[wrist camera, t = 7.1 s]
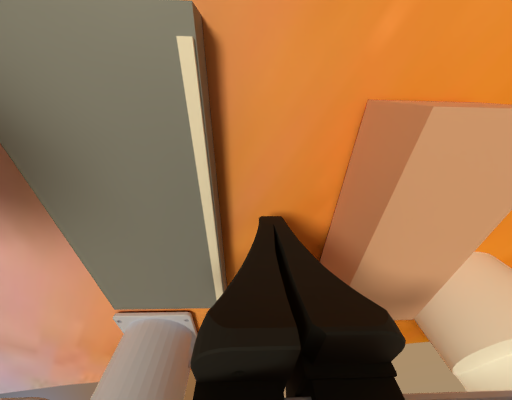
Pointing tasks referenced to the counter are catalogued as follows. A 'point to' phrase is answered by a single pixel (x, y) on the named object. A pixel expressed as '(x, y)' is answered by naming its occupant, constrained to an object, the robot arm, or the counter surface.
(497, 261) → the base with upright slab
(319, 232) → the counter surface
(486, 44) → the counter surface
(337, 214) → the tan rectangular block
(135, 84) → the board
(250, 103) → the counter surface
